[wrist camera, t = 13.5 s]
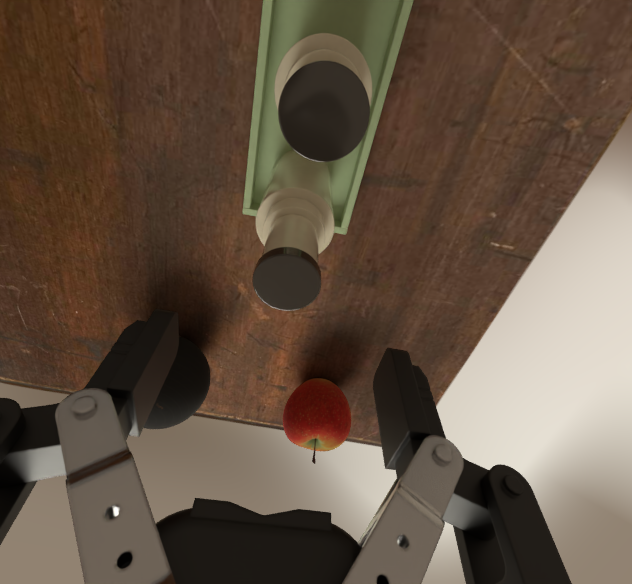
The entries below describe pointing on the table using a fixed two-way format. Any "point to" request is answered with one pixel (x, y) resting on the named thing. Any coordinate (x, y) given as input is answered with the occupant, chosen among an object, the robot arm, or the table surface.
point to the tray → (275, 40)
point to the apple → (317, 416)
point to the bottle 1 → (323, 97)
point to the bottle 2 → (293, 232)
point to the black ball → (181, 388)
